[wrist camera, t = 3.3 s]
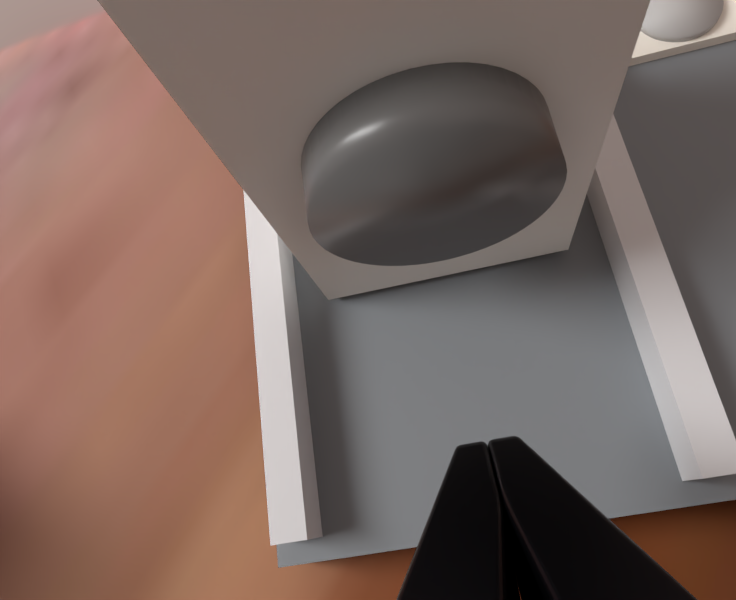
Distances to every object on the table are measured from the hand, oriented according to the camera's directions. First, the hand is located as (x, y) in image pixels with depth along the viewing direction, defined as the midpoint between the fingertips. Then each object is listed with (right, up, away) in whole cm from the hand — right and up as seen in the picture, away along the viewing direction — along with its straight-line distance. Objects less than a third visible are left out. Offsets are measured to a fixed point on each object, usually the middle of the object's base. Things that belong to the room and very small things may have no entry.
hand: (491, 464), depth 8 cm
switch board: (+3, +6, +9) cm, 11 cm away
